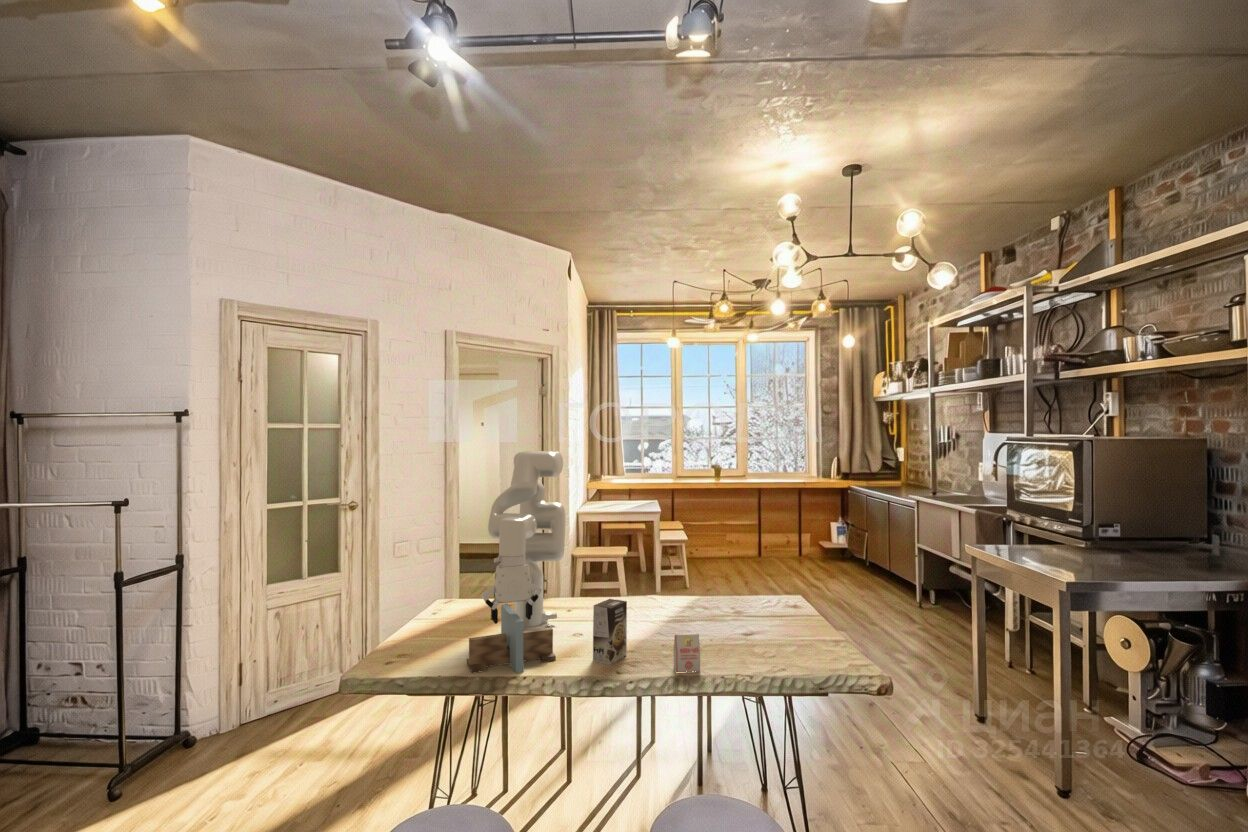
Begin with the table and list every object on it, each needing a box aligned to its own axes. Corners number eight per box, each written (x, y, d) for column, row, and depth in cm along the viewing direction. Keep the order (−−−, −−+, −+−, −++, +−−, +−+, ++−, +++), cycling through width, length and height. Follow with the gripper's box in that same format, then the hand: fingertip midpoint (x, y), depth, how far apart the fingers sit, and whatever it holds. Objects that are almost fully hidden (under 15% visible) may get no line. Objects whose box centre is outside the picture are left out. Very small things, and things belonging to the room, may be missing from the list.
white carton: (673, 668, 171) (673, 632, 172) (697, 667, 172) (697, 631, 172) (675, 673, 168) (676, 636, 168) (700, 672, 168) (700, 636, 169)
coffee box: (610, 665, 173) (610, 608, 174) (592, 661, 177) (592, 604, 177) (627, 655, 181) (627, 600, 182) (609, 651, 184) (609, 597, 185)
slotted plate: (523, 672, 168) (523, 620, 169) (516, 673, 168) (516, 621, 168) (507, 650, 185) (507, 604, 185) (501, 651, 184) (501, 604, 184)
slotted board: (547, 650, 185) (547, 624, 185) (555, 660, 177) (555, 632, 178) (466, 663, 175) (467, 634, 175) (471, 673, 168) (472, 643, 168)
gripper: (484, 565, 170) (484, 628, 170) (544, 560, 177) (544, 620, 177) (479, 560, 177) (479, 620, 176) (537, 555, 184) (537, 613, 183)
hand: (511, 620), depth 176 cm, fingers open, 9 cm apart
